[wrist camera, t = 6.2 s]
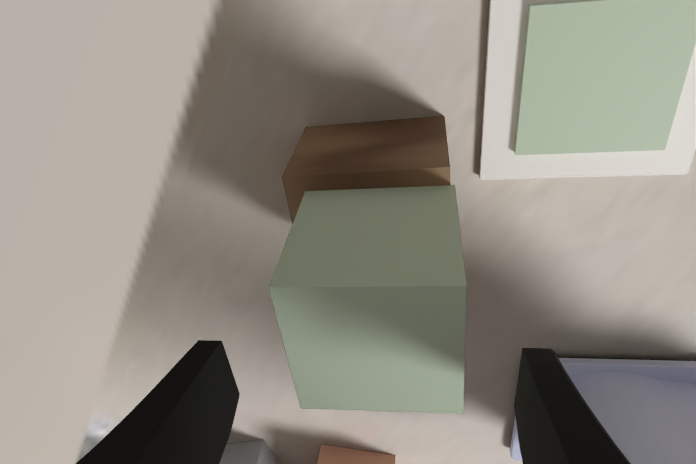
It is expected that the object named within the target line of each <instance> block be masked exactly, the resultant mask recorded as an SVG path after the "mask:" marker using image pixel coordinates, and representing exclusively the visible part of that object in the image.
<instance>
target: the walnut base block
mask: <svg viewBox="0 0 696 464" xmlns="http://www.w3.org/2000/svg"><path fill="white" fill-rule="evenodd" d="M282 179H283V184H284V188H285V192H286V197H287V201H288V205H289V210H290V214H291V219H292V223H293V222H294V219H295V217H296V214H297V212H298V209H299V206H300V204H301V201H302V198H303V196H304V193H305V191H324V190H348V189H373V188H397V187H422V186H446V185H450V164H449V155H448V146H447V136H446V127H445V118H444V116H438V117H426V118H413V119H401V120H388V121H376V122H363V123H351V124H338V125H326V126H314V127H306V128H305V131H304V133H303V135H302V137H301V139H300V141H299V143H298V145H297V147H296V149H295V151H294V153H293V155H292V158H291V160H290V162H289V164H288V166H287V168H286V170H285V172H284V174H283V176H282Z"/></svg>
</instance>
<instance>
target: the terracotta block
mask: <svg viewBox="0 0 696 464" xmlns="http://www.w3.org/2000/svg"><path fill="white" fill-rule="evenodd" d="M317 464H395V455H389V454H383V453H376V452H370V451H363V450H356V449H350V448H343V447H336V446H330V445H323V444H321V446H320V452H319V458H318V463H317Z"/></svg>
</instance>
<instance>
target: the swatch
mask: <svg viewBox="0 0 696 464" xmlns="http://www.w3.org/2000/svg"><path fill="white" fill-rule="evenodd" d="M695 149H696V0H490V3H489V20H488V37H487V54H486V71H485V87H484V104H483V121H482V138H481V155H480V171H479V177H480V180H499V179H535V178H570V177H606V176H642V175H678V174H688V171H689V168H690V165H691V162H692V159H693V156H694V153H695Z"/></svg>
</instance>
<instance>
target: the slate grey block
mask: <svg viewBox="0 0 696 464" xmlns="http://www.w3.org/2000/svg"><path fill="white" fill-rule="evenodd" d="M219 464H281V463H280V461H279V460H278V459H277V457H276V456H275V455H274V453H273V452H272V450H271V449H270V448H269V446H268V445H267V444H266V442H265V441H264V440H256V441H248V442H239V443H230V444H226V447H225V449H224V452H223V455H222V458H221V460H220V463H219Z"/></svg>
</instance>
